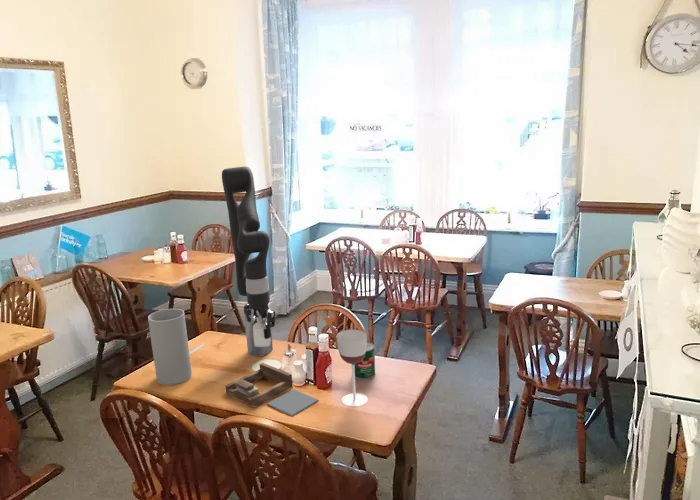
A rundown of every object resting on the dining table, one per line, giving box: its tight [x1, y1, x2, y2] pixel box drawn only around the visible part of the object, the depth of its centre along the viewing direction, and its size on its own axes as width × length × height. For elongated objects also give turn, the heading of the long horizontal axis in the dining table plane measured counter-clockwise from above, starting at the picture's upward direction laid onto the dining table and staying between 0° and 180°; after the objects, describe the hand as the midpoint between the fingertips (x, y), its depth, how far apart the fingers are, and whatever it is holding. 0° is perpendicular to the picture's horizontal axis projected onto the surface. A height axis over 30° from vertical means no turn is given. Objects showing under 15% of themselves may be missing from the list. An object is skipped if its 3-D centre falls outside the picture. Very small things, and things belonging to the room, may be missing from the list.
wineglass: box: [336, 329, 369, 407], centre depth 187 cm, size 9×10×23 cm
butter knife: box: [189, 343, 205, 355], centre depth 229 cm, size 1×27×3 cm
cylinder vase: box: [147, 308, 193, 386], centre depth 208 cm, size 12×12×25 cm
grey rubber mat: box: [267, 389, 320, 417], centre depth 190 cm, size 12×12×1 cm
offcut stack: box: [234, 380, 260, 397], centre depth 195 cm, size 4×9×5 cm, turn 48°
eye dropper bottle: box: [253, 317, 271, 347], centre depth 196 cm, size 4×6×12 cm
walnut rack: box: [224, 362, 293, 408], centre depth 199 cm, size 17×16×5 cm
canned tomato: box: [354, 341, 376, 380], centre depth 206 cm, size 8×8×11 cm
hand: (261, 335), depth 197 cm, fingers closed on eye dropper bottle, 5 cm apart
